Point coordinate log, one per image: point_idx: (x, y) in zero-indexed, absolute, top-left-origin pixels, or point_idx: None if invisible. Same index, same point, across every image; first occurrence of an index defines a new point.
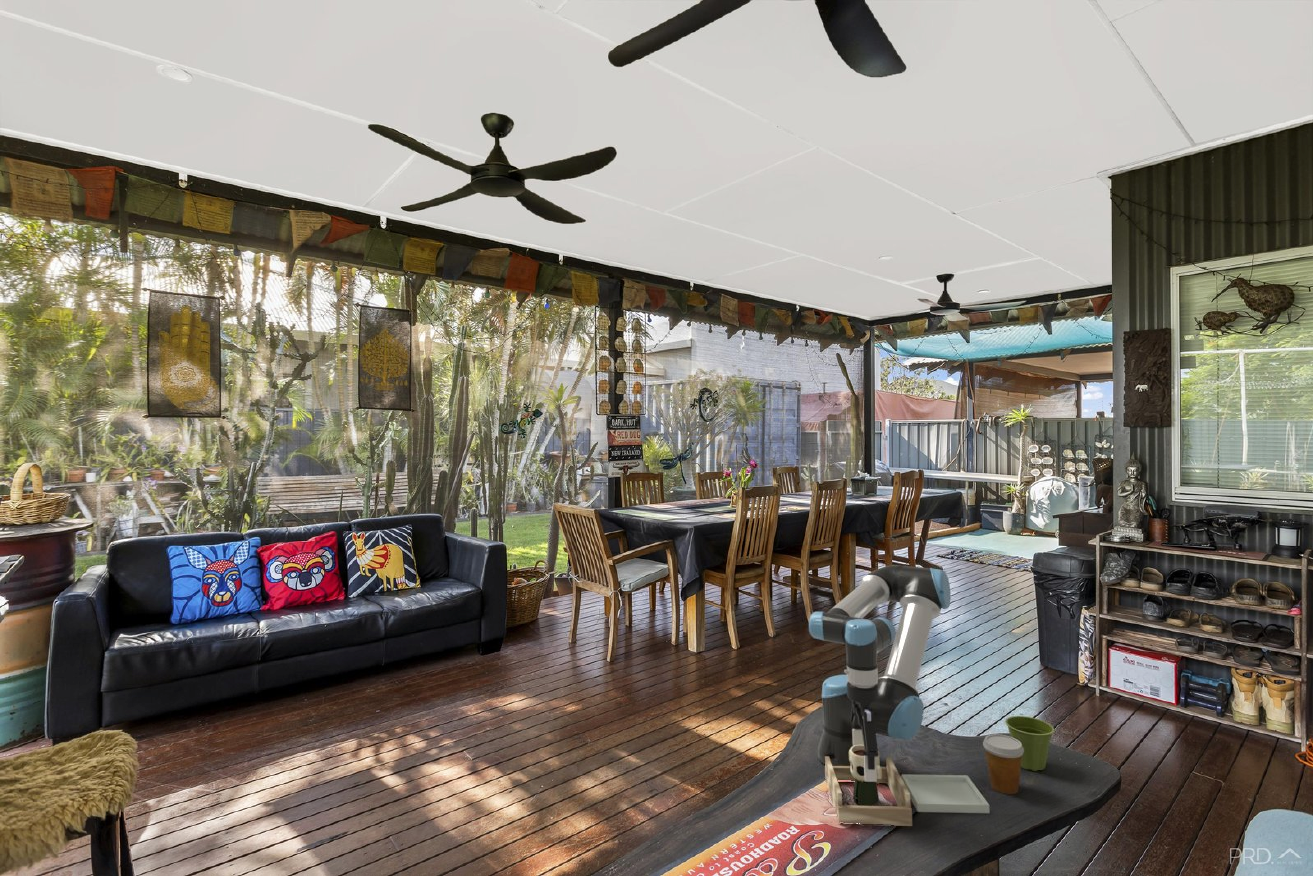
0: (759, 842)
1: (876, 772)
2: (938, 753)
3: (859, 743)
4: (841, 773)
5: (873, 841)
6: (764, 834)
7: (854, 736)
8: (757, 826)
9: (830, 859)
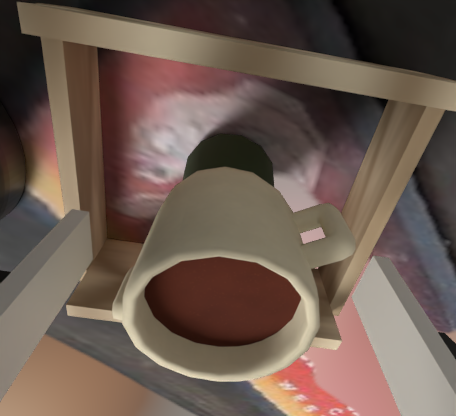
0: (334, 402)
1: (293, 221)
2: None
3: (55, 280)
4: (92, 224)
5: (429, 228)
6: (313, 393)
7: (30, 344)
8: (285, 397)
9: (440, 328)
